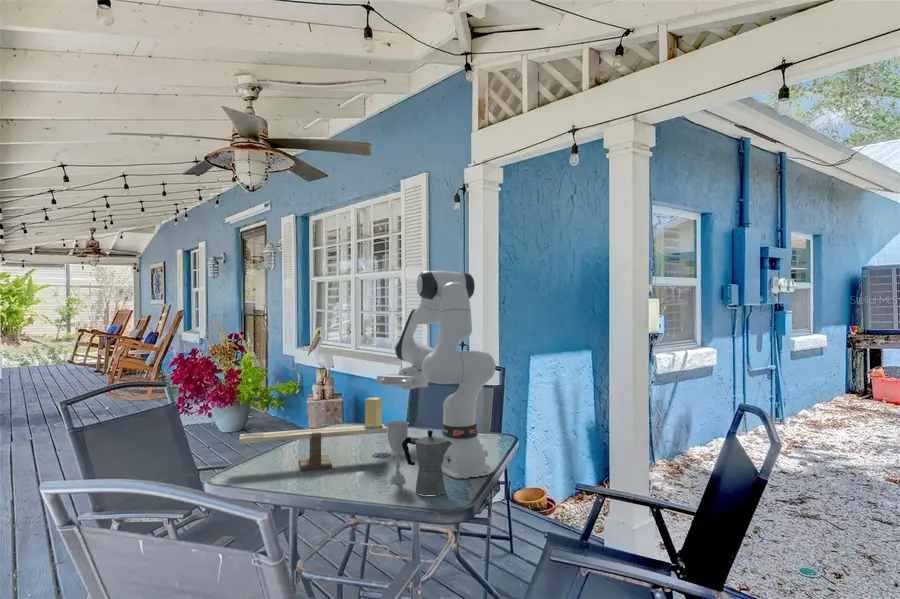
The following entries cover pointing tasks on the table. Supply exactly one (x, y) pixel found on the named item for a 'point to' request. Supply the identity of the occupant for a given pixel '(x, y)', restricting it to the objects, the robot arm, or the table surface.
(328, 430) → the balance beam
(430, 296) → the robot arm
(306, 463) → the beam stand
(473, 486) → the table surface
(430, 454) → the coffeepot
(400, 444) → the chalice
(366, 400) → the tall olive textured block
